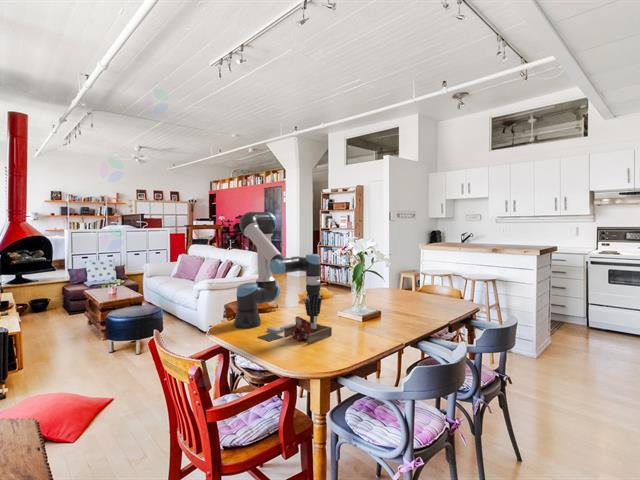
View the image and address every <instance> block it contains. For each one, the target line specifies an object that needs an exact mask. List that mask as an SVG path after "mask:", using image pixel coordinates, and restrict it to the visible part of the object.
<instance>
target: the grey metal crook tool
mask: <svg viewBox="0 0 640 480" xmlns="http://www.w3.org/2000/svg"><path fill="white" fill-rule="evenodd" d="M293 325H296V323H289V324H287V325H284V326H281V327H280V326H279V330H280V332H281V333H284V328H286V327H290V326H293Z"/></svg>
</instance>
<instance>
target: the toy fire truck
mask: <svg viewBox="0 0 640 480" xmlns="http://www.w3.org/2000/svg"><path fill="white" fill-rule="evenodd" d="M307 321H308V320H307V319H304V318H303V317H300V316H295V324H296V330H293V331H292V335H291V336H292V338H293V339H296V341H298V342H302V341H303V340H307V335H309V334H311V333H312V331H309V328H308V324H307Z"/></svg>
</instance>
